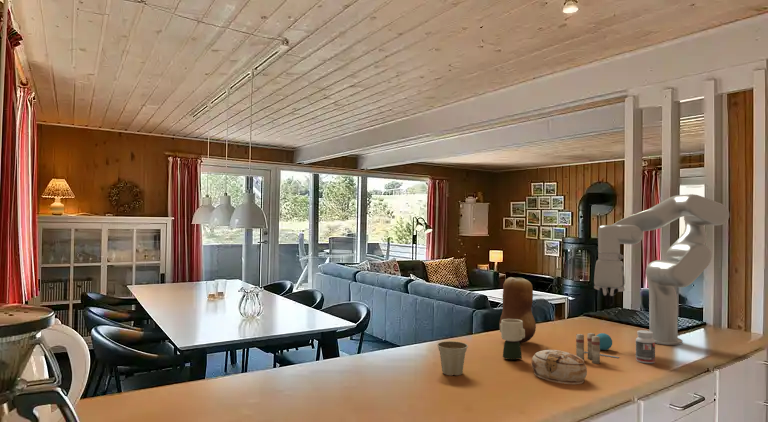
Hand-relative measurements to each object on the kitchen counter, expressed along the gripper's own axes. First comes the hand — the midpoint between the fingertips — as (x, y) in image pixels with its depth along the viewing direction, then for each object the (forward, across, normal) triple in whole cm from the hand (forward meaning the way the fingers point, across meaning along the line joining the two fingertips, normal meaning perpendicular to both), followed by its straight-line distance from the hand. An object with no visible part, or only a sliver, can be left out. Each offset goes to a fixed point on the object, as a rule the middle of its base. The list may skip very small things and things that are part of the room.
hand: (609, 305), depth 185 cm
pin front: (+15, 0, +24) cm, 29 cm away
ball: (+12, 0, +9) cm, 15 cm away
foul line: (+15, 0, +17) cm, 23 cm away
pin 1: (+15, +2, +28) cm, 32 cm away
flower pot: (+15, +29, +67) cm, 75 cm away
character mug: (+15, +21, +41) cm, 49 cm away
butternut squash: (+15, +29, +18) cm, 37 cm away
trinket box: (+15, +2, +51) cm, 54 cm away
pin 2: (+15, -3, +28) cm, 32 cm away
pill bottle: (+15, -15, +16) cm, 27 cm away
